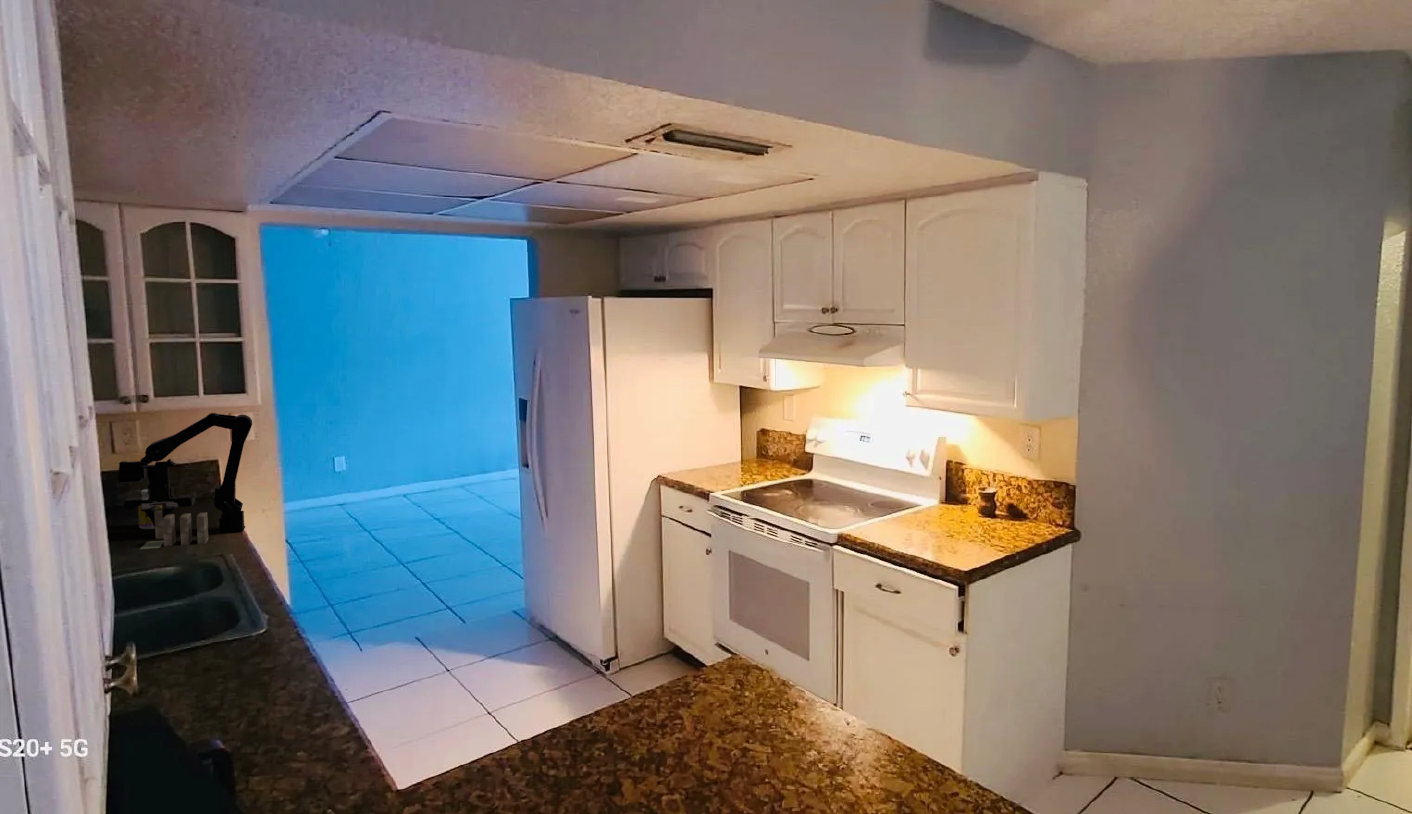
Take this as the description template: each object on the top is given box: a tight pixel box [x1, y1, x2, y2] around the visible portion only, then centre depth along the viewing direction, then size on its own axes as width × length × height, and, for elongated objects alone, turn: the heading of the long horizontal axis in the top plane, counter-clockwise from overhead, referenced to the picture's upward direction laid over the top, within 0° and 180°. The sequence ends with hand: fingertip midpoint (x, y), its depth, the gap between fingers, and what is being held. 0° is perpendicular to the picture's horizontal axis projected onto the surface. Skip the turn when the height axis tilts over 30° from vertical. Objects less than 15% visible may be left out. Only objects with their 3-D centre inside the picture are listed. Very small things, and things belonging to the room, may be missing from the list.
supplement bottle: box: [137, 488, 163, 530], centre depth 266 cm, size 7×7×13 cm
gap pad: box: [139, 540, 164, 550], centre depth 247 cm, size 5×8×1 cm, turn 22°
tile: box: [154, 507, 165, 540], centre depth 255 cm, size 2×5×9 cm, turn 22°
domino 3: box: [196, 512, 209, 545], centre depth 251 cm, size 2×5×9 cm, turn 22°
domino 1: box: [163, 513, 177, 547], centre depth 248 cm, size 2×5×9 cm, turn 22°
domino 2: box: [179, 512, 193, 546], centre depth 250 cm, size 2×5×9 cm, turn 22°
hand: (161, 527), depth 255 cm, fingers open, 2 cm apart
